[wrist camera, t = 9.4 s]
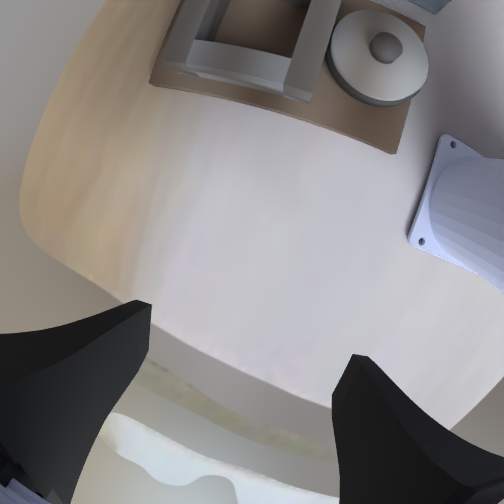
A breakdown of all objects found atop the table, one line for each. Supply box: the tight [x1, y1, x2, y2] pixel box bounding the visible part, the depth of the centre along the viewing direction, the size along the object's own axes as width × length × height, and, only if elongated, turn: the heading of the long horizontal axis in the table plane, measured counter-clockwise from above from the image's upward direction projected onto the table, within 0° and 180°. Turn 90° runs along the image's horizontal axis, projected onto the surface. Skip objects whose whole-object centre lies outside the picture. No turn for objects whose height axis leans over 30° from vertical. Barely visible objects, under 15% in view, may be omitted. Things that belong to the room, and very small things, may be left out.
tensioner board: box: [149, 0, 429, 154], centre depth 13 cm, size 16×10×4 cm, turn 74°
